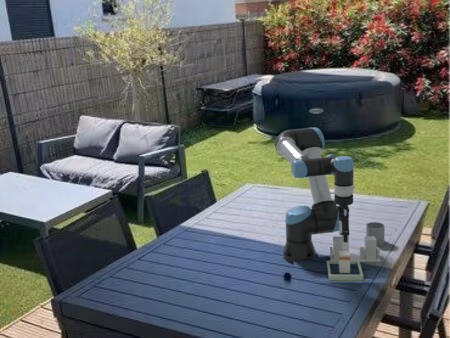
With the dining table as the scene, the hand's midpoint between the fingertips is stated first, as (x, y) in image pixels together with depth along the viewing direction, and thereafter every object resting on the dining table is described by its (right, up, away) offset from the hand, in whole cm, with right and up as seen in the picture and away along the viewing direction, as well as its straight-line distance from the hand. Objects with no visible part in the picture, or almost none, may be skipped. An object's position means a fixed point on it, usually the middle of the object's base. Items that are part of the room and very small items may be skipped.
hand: (343, 241), depth 208 cm
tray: (+1, -14, +3) cm, 14 cm away
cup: (+22, -6, +29) cm, 37 cm away
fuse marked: (+1, -13, +3) cm, 14 cm away
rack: (+8, -10, +15) cm, 20 cm away
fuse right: (+15, -9, +13) cm, 22 cm away
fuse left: (+1, -9, +15) cm, 18 cm away
